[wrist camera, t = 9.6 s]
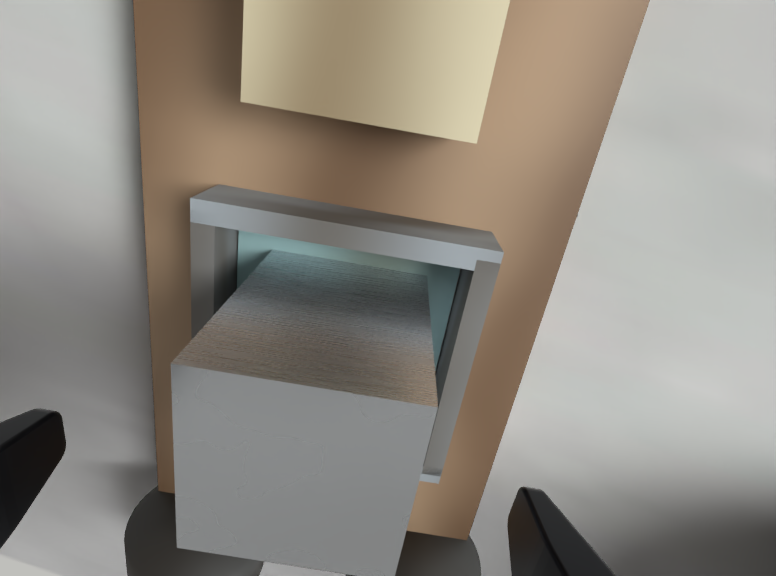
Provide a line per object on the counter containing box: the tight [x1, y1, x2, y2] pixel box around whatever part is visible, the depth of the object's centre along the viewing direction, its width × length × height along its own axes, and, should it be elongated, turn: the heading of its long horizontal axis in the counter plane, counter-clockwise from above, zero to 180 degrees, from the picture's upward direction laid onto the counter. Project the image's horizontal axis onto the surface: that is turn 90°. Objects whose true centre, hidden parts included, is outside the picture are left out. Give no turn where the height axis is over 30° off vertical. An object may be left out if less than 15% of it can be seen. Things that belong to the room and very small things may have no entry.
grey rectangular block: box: [171, 250, 438, 576], centre depth 11 cm, size 4×4×6 cm
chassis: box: [124, 0, 650, 576], centre depth 13 cm, size 13×25×5 cm, turn 171°
